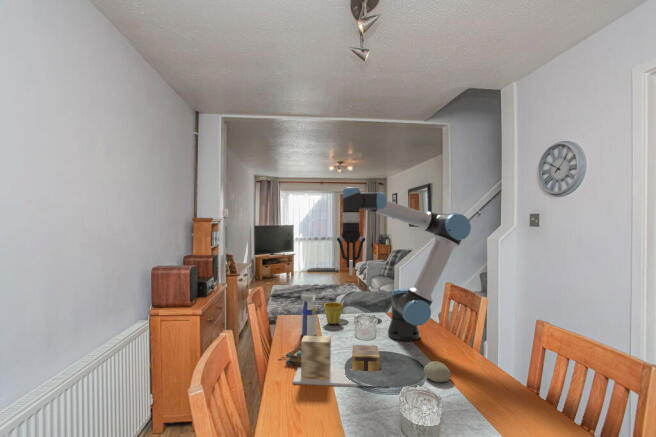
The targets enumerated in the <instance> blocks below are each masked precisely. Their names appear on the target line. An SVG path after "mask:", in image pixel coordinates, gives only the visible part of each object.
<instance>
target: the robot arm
mask: <svg viewBox="0 0 656 437" xmlns="http://www.w3.org/2000/svg"><path fill="white" fill-rule="evenodd" d="M360 210H363V211H368V212H370V213H374V214H379V215H381V216H385V217H387V218H390V219H393V220H397V221H400V222H403V223H406V224H409V225H413V226H416V227H419V228H421V229H422V231H425V232H427V233H430V234H432V235H433V237H434V239H435V240H434V243H433V245H432V247H431V250H430V251H429V254H428V255H427V258H426V260H425V262H424V264H423V266H422V268H421V270H420V272H419V275H418V277H417V279H416V281H415V282H414V286H412V287H410V288H395V289H392V291H391V320H390V323H389V326H388V330H387V336H388V337H389V338H390V339H391V338H392V339H393V340H397V341H404V342H413V341H417V340H419V338H420V330H419V328H418V327H419V326H423V325H425V324H426V323H427V322H428V321H429V320H430V318H431V317H432V316H431V315H432V310H431V305H432V304H433V302H434V300H433V297H432V295H433V293H434V290H435V289H436V287H437V285H438V282H439V280H440V279H441V276H442V274H443V271H444V269H445V267H446V266H447V263H448V261H449V259H450V257H451V255H452V253H453V251H454V249H456V248H458V247H459V246H460V244H461V242H462V241H463V240H465V239H466V238H468V236H469V235H470V234H471V231H472V230H471V229H472V226H471V222H470V220H469V218H468V217H467V216H466V215H464V214H461V213H458V212H457V213H456V212H453V213H436V212H431V211H427V212H425V211H421V210H418V209H415V208H412V207H409V206H406V205H402V204H400V203H399V204H398V203H396V202H393V201H390V200H388V198H387V195H386V193H385V192H379V191H378V192H377V191H375V192H374V191H373V192H372V191H371V192H362V191H360V188H359V187H353V186H351V187H349V186H348V187H345V188H343V191H342V233H341V235H340V236H339V237H336V241H337V242H338V244H339V250H340V254H341V256H342V259H343V260H346V268H347V269H348V270H349V271H348V272H349V273H348V276H353V275H354V274H353V272H354V271H353V270H354V268H356V261H357V260H360V256H361V254H362V253H361V252H362V248H363V244H364V243H365V241H366V238H365V237H363V236H362V235H361V233H360ZM343 240H344V241H345V243H346V254H345V248H344V246H343ZM358 241H360V242H359V246H358V250H357V253H356V243H357V242H358ZM350 243H351V244H352V259H350Z"/></svg>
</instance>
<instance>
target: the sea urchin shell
mask: <svg viewBox="0 0 656 437" xmlns="http://www.w3.org/2000/svg"><path fill="white" fill-rule="evenodd" d="M424 373H425V374H426V376H425V377H426V378H427V379H429V380H431V381H433V382H435V383H445V382H447V381H450V380H451V377H452V376H451V370H450V369H449V368H448V367H447V366H446V365H445V364H444V363H443V362H440V361H435V360H434V361H430V362H428V363H427V364H426V365H425V366H424V368H423V374H424ZM425 374H424V375H425Z"/></svg>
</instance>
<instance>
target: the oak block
mask: <svg viewBox="0 0 656 437" xmlns="http://www.w3.org/2000/svg"><path fill="white" fill-rule="evenodd" d="M331 338H332V337H331V336H329V335H328V336H325V335H314V336H303V337H302V339H301V342H300V344H301V345H300V347H301V378H306V379H329V378H330V372H331V369H332V366H331V365H332V364H331V360H332V358H331V356H332V355H331V354H332V353H331V350H332V349H331V348H332V345H331V344H332V342H331V341H332V339H331Z"/></svg>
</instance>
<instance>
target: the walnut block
mask: <svg viewBox="0 0 656 437" xmlns="http://www.w3.org/2000/svg"><path fill="white" fill-rule="evenodd" d="M351 348H352V352H351V353H352V355H351V357H352V358H351V359H352V362H351V363H352V364H351V370H361V371H381V367H380V364H381V361H380V359H381V358H380V357H381V356H380V351H379V347H378V345H368V344H367V345H365V344H352V347H351Z"/></svg>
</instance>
